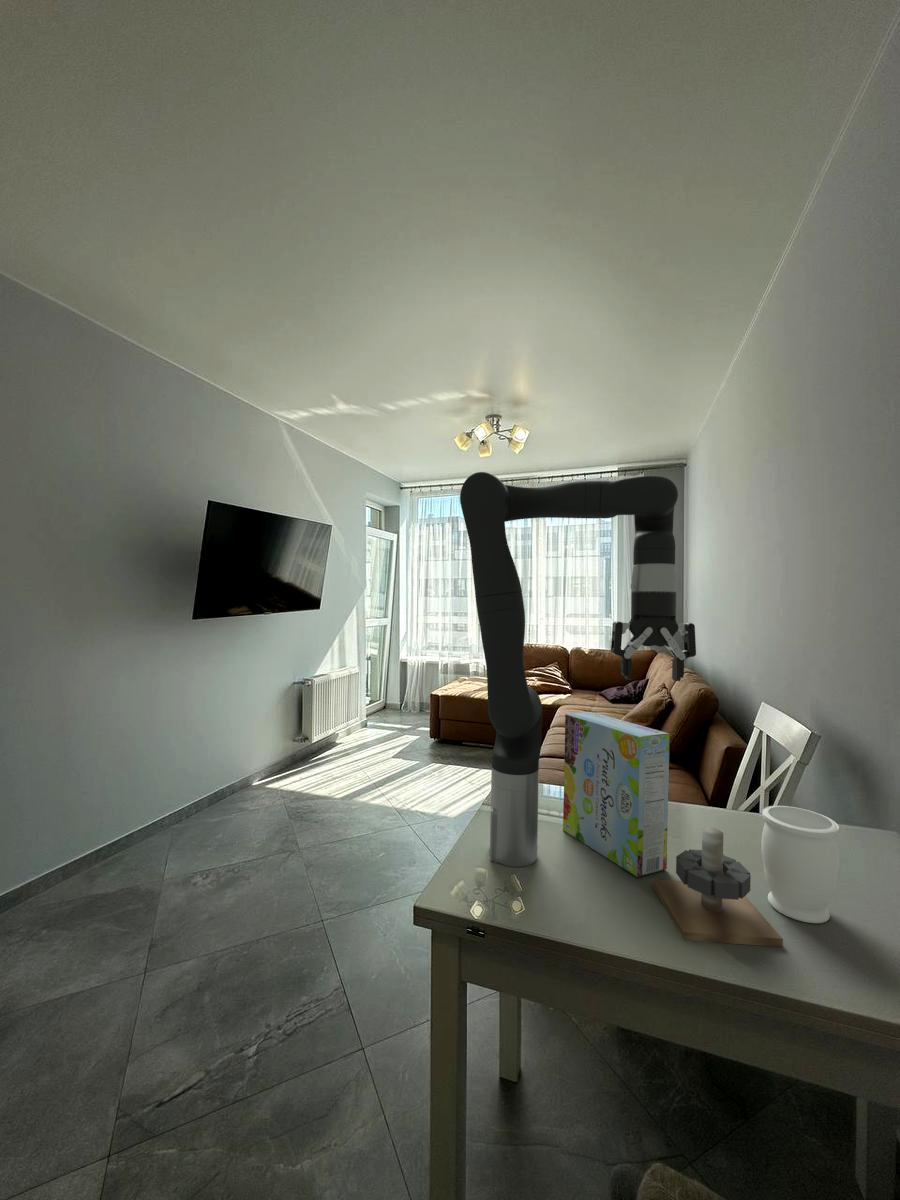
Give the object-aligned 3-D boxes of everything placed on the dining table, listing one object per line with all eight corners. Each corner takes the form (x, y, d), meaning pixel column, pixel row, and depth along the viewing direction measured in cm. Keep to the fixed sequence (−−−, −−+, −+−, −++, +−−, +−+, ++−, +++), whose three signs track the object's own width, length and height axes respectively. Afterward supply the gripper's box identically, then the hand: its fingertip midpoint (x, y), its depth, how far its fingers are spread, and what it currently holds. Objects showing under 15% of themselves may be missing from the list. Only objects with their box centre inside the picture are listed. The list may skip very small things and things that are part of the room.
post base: (683, 940, 73) (685, 850, 73) (652, 886, 87) (653, 811, 87) (782, 947, 72) (784, 856, 72) (735, 891, 86) (736, 815, 86)
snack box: (671, 870, 93) (673, 732, 93) (637, 881, 89) (639, 737, 89) (590, 822, 112) (592, 709, 112) (560, 829, 108) (561, 712, 108)
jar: (811, 936, 75) (812, 837, 75) (746, 898, 84) (747, 809, 84) (852, 919, 79) (854, 825, 79) (786, 884, 88) (787, 801, 88)
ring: (692, 896, 75) (692, 881, 75) (668, 862, 85) (669, 848, 85) (761, 901, 74) (761, 885, 74) (729, 865, 84) (729, 851, 84)
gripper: (618, 589, 86) (617, 682, 86) (703, 590, 85) (701, 684, 85) (608, 590, 94) (606, 675, 94) (686, 591, 93) (684, 677, 92)
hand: (652, 679), depth 89 cm, fingers open, 8 cm apart
